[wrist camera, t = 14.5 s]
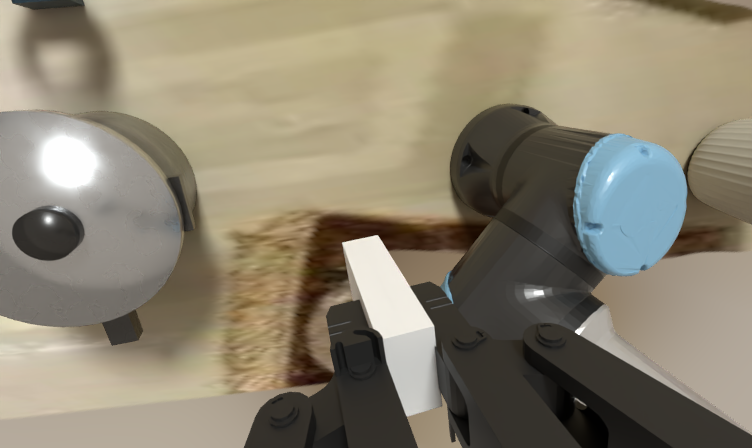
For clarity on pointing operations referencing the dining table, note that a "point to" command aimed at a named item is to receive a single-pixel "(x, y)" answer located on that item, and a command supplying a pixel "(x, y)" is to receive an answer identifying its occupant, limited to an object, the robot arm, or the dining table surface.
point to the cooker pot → (177, 174)
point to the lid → (80, 221)
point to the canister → (725, 169)
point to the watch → (48, 3)
